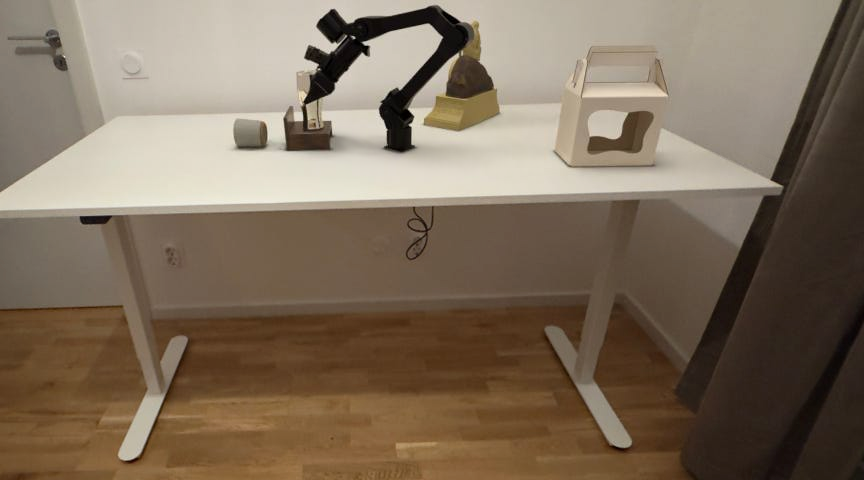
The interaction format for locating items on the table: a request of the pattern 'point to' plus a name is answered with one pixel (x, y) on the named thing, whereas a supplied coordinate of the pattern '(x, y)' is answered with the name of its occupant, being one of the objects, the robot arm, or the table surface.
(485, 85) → the tan and brown statue
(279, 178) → the table surface
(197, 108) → the table surface
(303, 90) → the beer glass
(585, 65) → the gable box
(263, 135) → the ceramic mug
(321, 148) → the desk shelf
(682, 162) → the table surface
